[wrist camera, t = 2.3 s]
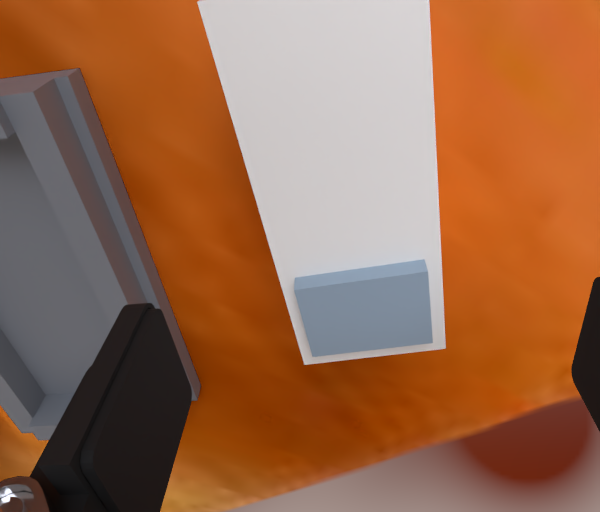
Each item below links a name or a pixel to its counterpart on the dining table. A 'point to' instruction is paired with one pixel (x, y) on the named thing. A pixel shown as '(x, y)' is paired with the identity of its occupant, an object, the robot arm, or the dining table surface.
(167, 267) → the dining table surface
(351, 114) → the white box
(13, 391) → the tray
